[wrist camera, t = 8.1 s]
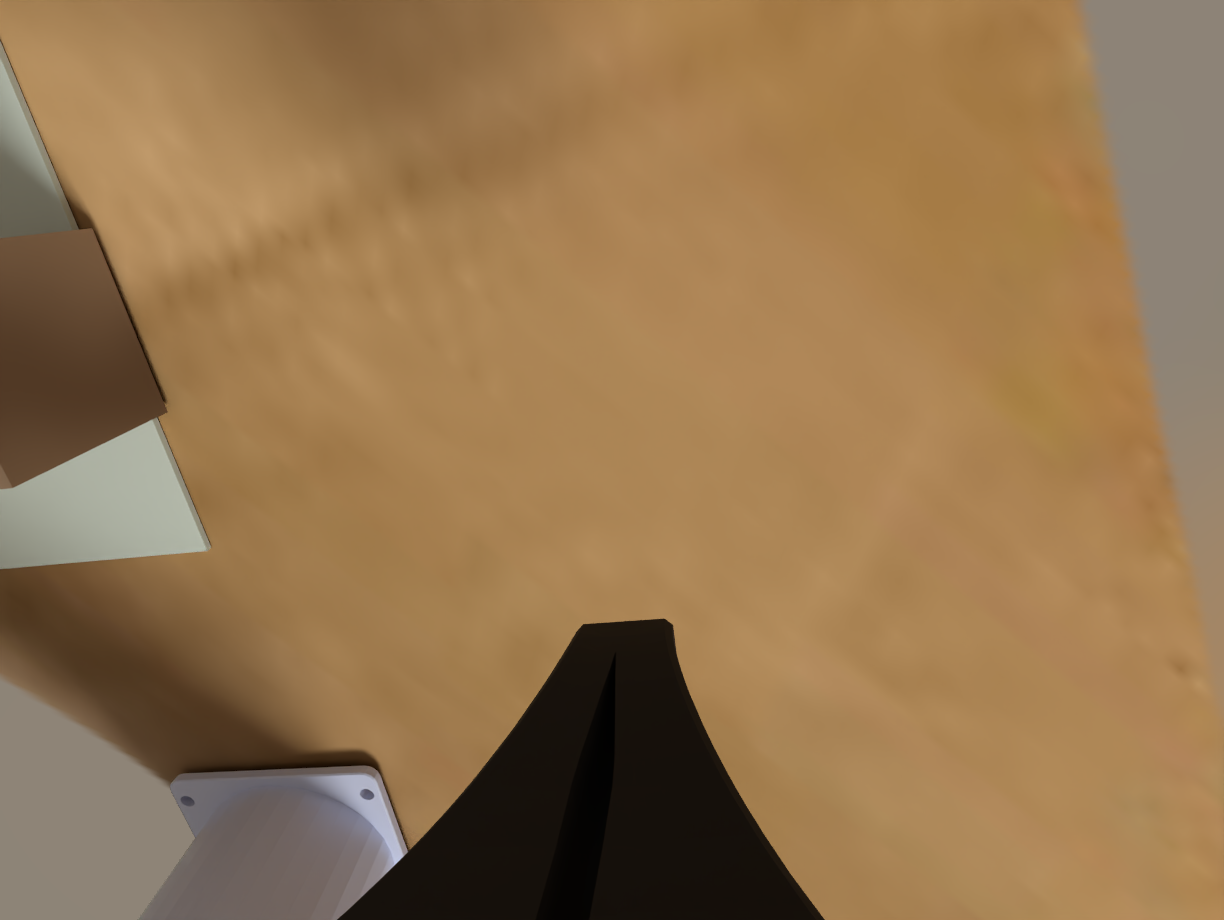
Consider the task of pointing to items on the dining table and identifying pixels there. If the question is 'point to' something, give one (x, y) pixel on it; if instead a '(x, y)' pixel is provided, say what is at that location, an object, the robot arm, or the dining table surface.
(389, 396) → the dining table surface
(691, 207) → the dining table surface
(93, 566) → the dining table surface
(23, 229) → the pad
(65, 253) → the walnut block
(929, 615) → the dining table surface
